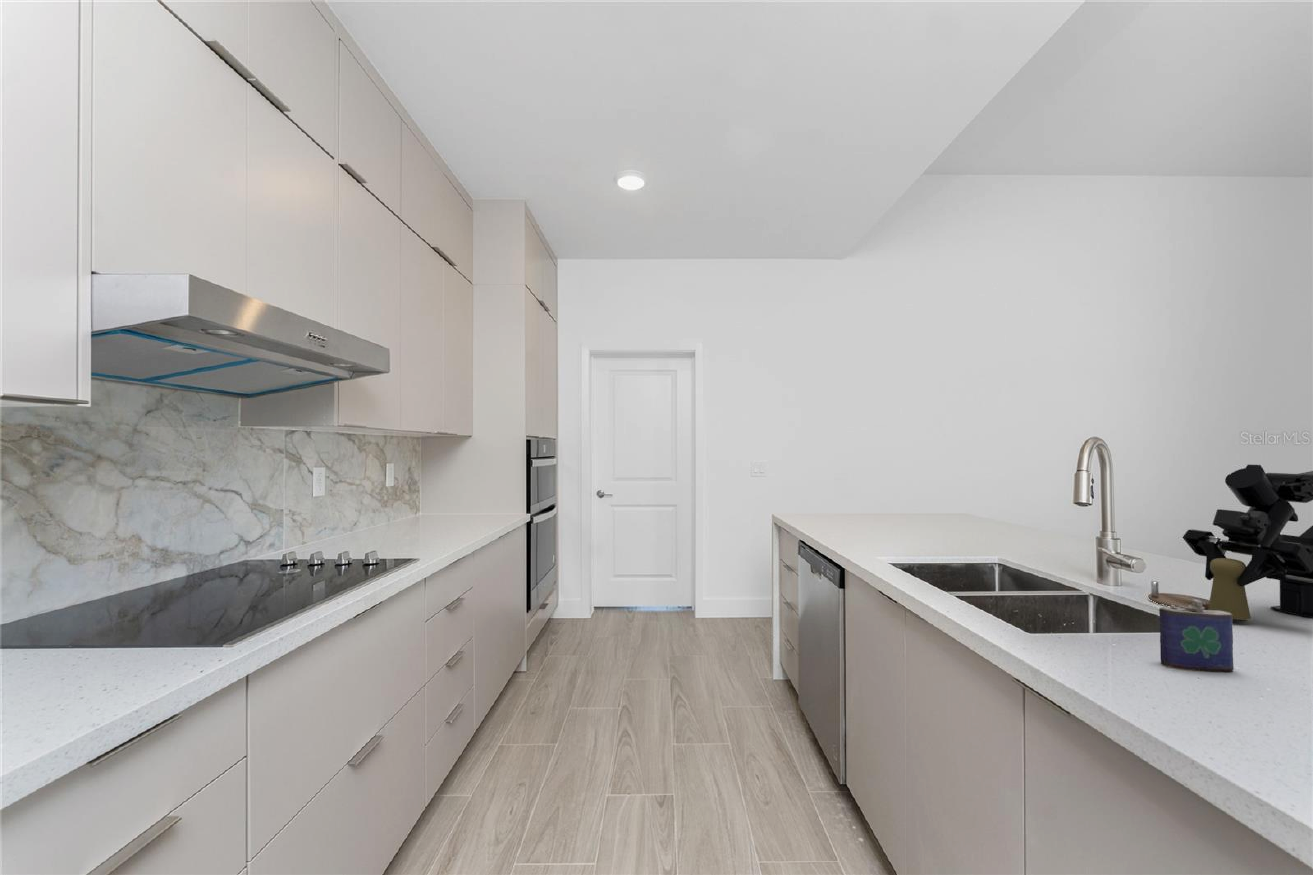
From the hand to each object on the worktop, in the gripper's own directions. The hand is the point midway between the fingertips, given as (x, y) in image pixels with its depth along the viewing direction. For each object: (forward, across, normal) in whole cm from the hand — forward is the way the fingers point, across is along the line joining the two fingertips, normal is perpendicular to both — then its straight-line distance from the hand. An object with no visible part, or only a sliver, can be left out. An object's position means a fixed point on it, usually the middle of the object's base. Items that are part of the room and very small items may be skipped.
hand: (1222, 581), depth 114 cm
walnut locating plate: (+2, -11, +10) cm, 15 cm away
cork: (+4, 0, +6) cm, 7 cm away
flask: (+27, +16, -16) cm, 36 cm away
